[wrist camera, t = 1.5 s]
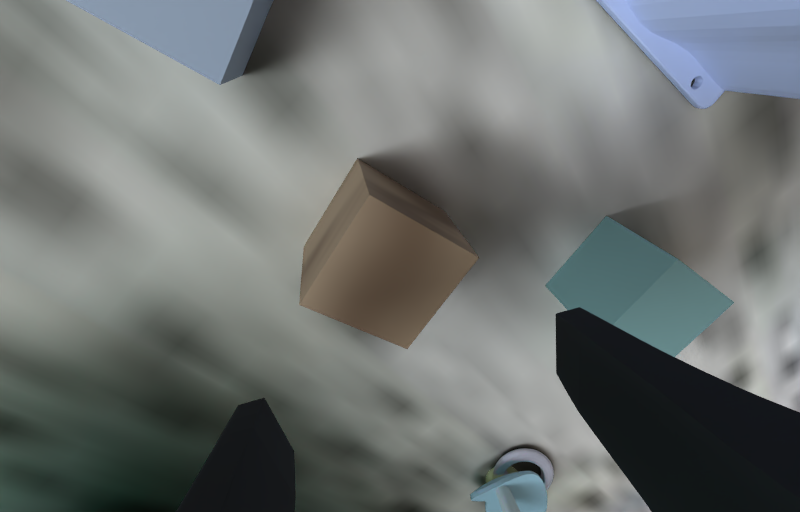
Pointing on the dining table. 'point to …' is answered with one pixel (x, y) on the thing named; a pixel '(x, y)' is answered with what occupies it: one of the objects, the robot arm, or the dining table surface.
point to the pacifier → (516, 484)
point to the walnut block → (382, 258)
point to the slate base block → (190, 30)
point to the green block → (638, 288)
